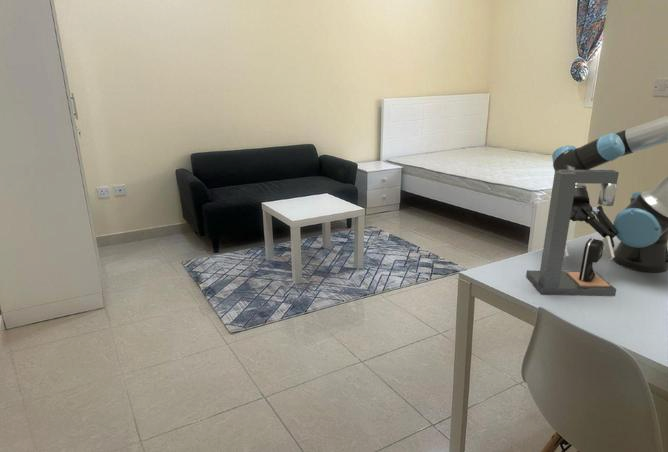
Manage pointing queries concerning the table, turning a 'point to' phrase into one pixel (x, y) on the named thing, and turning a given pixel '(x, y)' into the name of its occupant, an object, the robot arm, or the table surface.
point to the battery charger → (590, 258)
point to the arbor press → (560, 208)
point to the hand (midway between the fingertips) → (588, 258)
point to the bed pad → (594, 283)
